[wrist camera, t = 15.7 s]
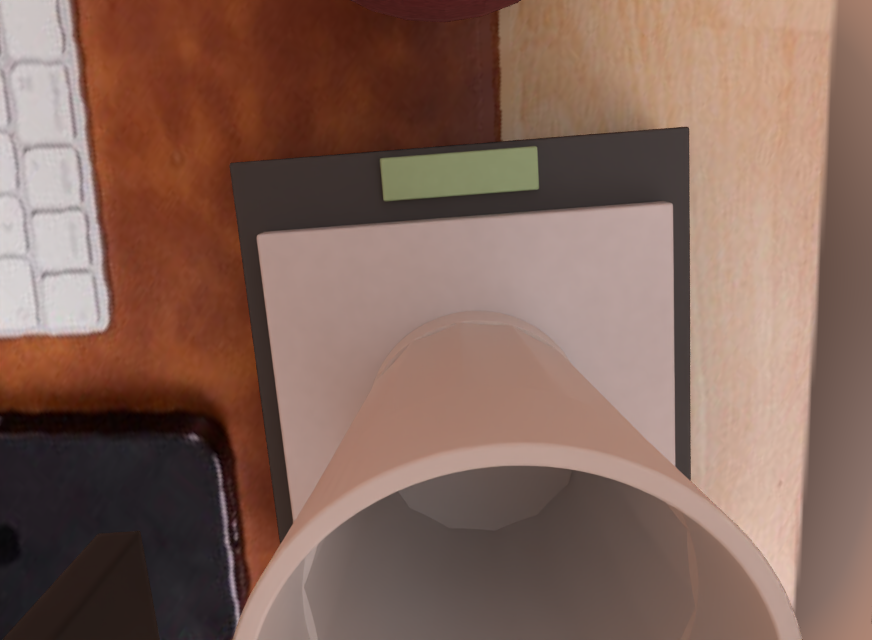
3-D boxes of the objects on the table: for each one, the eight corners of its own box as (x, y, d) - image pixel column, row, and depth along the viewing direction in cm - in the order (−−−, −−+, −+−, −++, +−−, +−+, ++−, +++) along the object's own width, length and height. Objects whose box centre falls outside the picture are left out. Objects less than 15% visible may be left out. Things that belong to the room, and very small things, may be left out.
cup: (468, 589, 23) (494, 1035, 11) (283, 409, 22) (102, 704, 10) (668, 422, 22) (928, 732, 10) (485, 223, 21) (541, 314, 9)
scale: (659, 130, 24) (699, 125, 20) (664, 531, 27) (699, 592, 23) (254, 162, 24) (220, 163, 20) (304, 555, 27) (282, 618, 23)
